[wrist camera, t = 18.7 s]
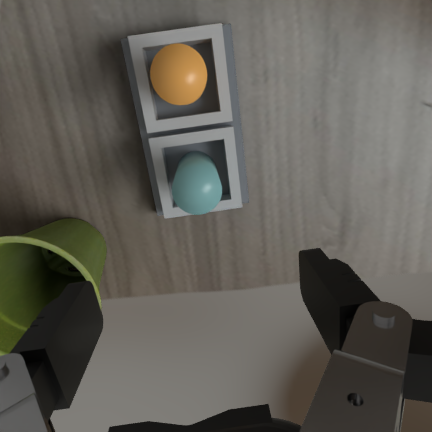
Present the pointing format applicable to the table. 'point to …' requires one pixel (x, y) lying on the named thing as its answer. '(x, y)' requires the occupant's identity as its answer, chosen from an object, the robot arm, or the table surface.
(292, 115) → the table surface
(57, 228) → the plant pot
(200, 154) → the teal pin
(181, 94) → the orange pin
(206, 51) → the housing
